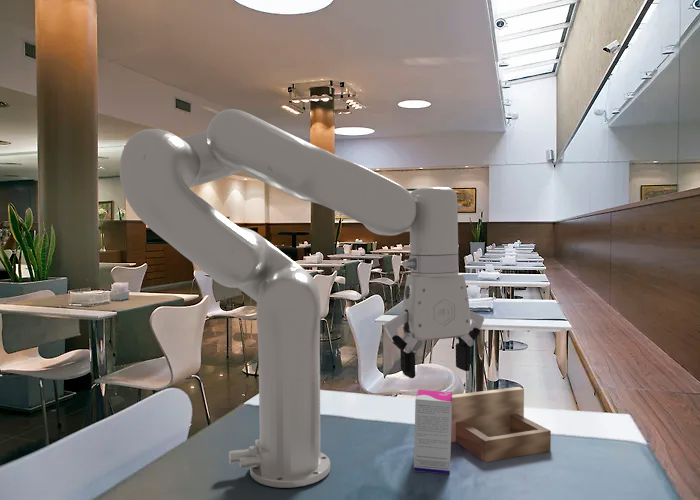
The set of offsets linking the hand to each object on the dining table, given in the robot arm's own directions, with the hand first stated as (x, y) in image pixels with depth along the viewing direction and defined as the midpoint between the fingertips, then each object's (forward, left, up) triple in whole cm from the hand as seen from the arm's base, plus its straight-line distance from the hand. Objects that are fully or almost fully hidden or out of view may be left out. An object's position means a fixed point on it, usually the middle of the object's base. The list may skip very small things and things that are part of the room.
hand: (436, 372), depth 88 cm
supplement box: (-1, 0, -15) cm, 15 cm away
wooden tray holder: (+12, +4, -15) cm, 20 cm away
